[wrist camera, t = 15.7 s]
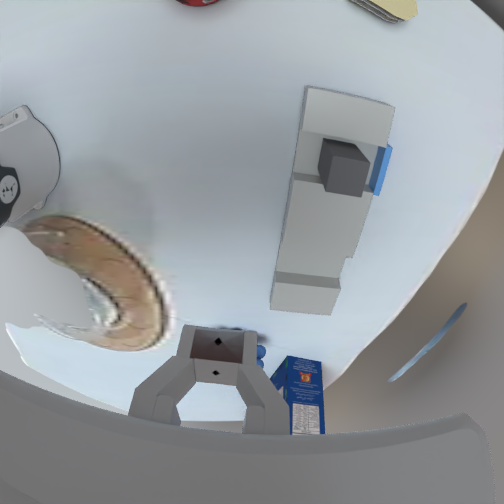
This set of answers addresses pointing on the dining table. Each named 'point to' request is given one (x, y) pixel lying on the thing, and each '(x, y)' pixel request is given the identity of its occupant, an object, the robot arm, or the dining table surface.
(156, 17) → the dining table surface
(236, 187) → the dining table surface
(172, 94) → the dining table surface
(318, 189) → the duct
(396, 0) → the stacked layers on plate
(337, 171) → the dark grey rectangular box
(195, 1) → the canned food
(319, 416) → the pasta box
